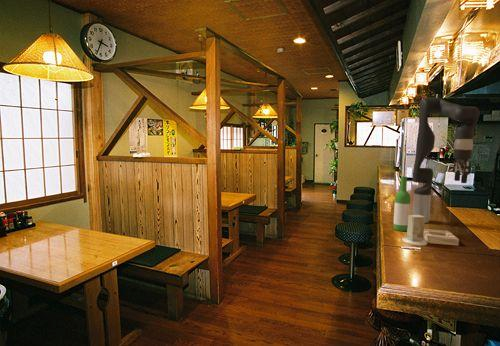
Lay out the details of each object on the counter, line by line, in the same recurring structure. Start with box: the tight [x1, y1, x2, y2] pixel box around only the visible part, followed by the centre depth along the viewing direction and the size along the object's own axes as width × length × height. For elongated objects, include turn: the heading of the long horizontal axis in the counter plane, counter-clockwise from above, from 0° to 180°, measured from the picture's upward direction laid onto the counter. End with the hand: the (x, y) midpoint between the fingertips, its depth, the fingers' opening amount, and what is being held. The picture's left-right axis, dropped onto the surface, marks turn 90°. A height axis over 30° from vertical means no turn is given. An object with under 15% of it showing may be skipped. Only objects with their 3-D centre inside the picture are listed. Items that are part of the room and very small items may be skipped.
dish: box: [401, 236, 428, 247], centre depth 159 cm, size 11×11×1 cm
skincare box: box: [406, 214, 426, 241], centre depth 158 cm, size 6×4×12 cm
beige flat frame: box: [423, 228, 460, 246], centre depth 163 cm, size 15×13×3 cm
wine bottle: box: [392, 176, 411, 232], centre depth 179 cm, size 8×8×30 cm
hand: (460, 181), depth 156 cm, fingers open, 8 cm apart
